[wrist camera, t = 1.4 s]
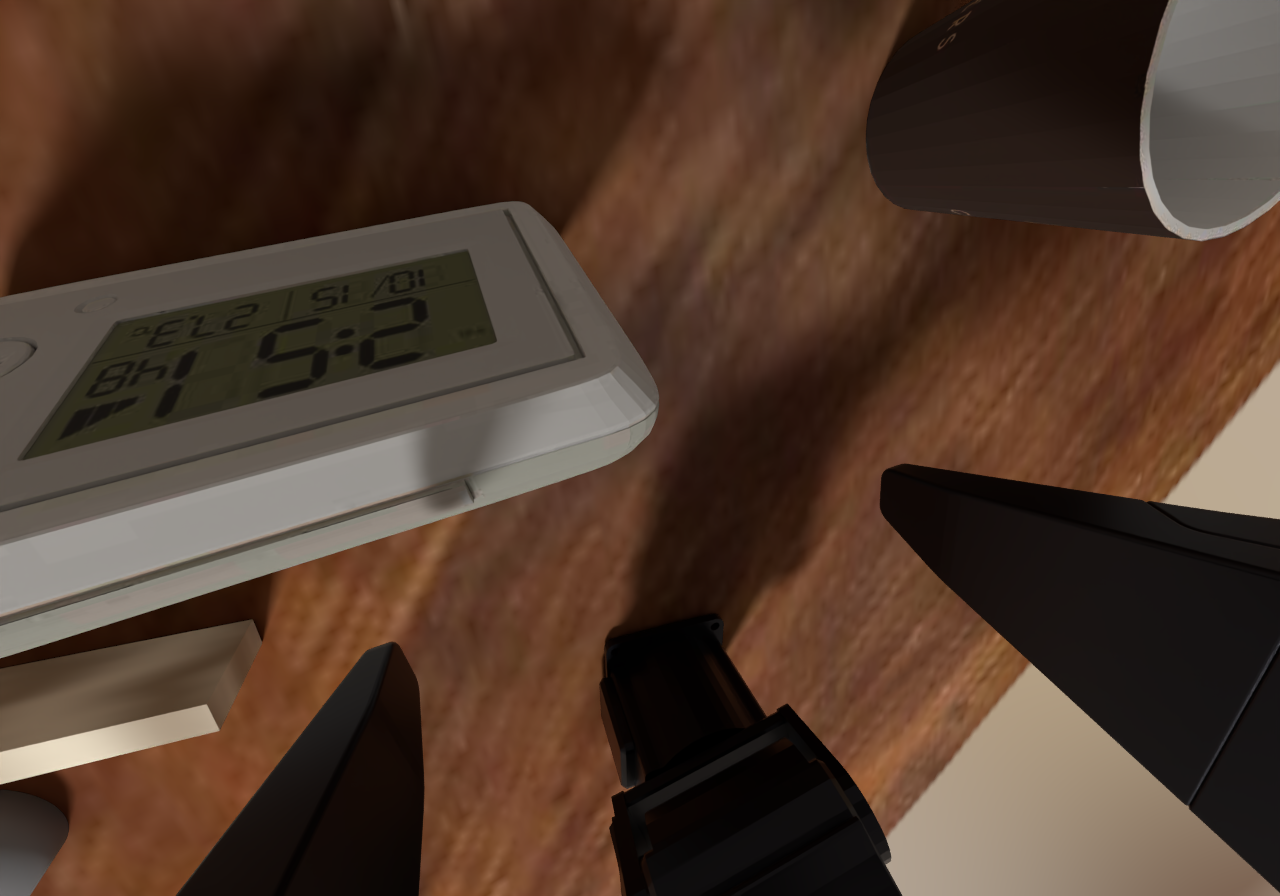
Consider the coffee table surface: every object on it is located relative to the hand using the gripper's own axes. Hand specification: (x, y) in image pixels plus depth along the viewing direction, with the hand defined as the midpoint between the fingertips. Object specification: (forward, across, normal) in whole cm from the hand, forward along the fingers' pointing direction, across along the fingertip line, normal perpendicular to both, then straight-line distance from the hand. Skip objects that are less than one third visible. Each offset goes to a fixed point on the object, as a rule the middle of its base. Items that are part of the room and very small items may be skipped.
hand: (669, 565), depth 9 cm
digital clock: (+13, +7, -3) cm, 15 cm away
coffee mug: (+13, -19, -6) cm, 24 cm away
